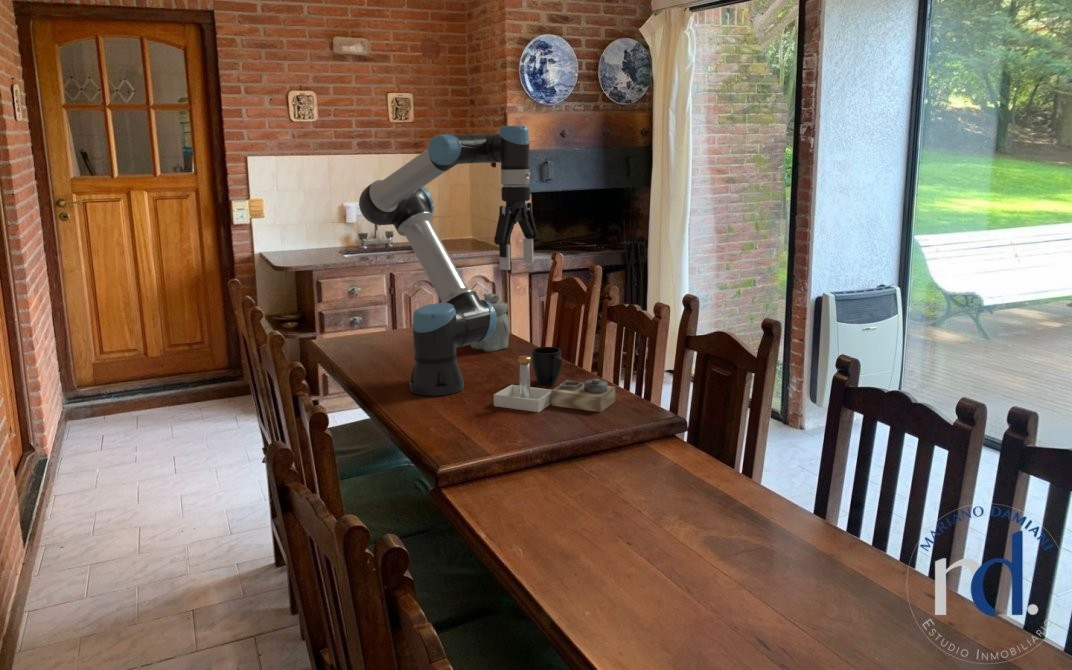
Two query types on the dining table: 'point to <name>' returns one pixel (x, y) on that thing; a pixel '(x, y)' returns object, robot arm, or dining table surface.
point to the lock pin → (524, 376)
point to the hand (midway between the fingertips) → (517, 266)
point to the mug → (546, 364)
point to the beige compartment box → (583, 395)
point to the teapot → (501, 332)
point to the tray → (523, 399)
